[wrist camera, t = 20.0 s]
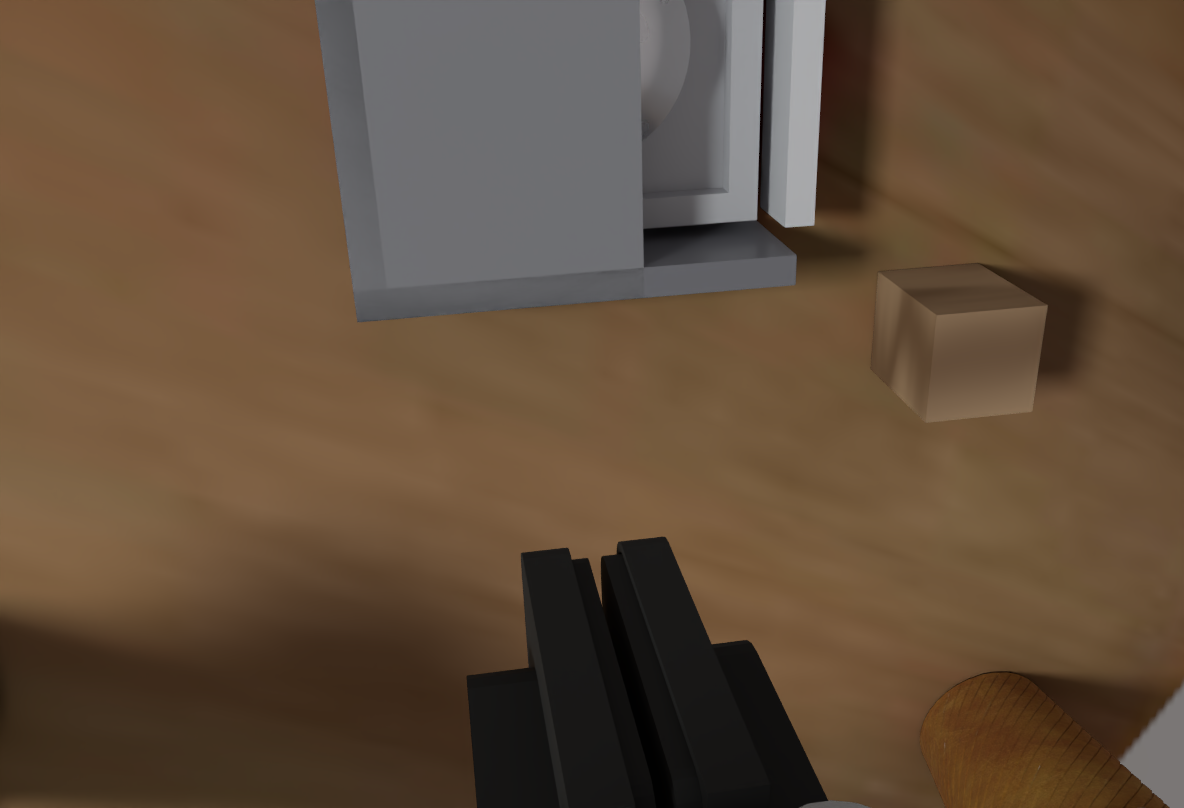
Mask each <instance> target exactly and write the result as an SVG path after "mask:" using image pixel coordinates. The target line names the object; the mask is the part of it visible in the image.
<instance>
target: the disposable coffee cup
mask: <svg viewBox="0 0 1184 808" xmlns="http://www.w3.org/2000/svg"><path fill="white" fill-rule="evenodd" d="M920 746H921V750H922V754H923V756H924V758H925V760H926V762H927V765H928V767H929V769H930V772H931V774H932V776H933V779H934V781H935V784H936V786H937V788H938V790H939V793H940V795H941V798H942V800H943V802H944V805H945V807H946V808H1169V807H1168V806H1167V805H1166V804H1164V803H1163V801H1162V800H1161V799H1160V798H1159V797H1157V796H1156V795H1155V794H1154V793H1152V790H1150V789H1149V788H1148V787H1147V786H1145V785H1144V784H1143V783H1141V780H1139V779H1138V778H1137V777H1136V776H1134V775H1133V774H1131V772H1130V771H1129V770H1128V769H1127V768H1126V767H1125V766H1123V765H1122V764H1120V761H1119V760H1117V759H1116V758H1115V757H1113V756H1112V755H1110V752H1108V751H1107V750H1106V749H1105V748H1104V747H1102V746H1101V744H1100V743H1099V742H1097V741H1096V740H1095V739H1094V738H1092V737H1091V736H1090V734H1089V733H1088V732H1086V731H1085V730H1084V729H1083V728H1082V727H1081V726H1080V725H1079V724H1077V723H1076V722H1075V721H1074V720H1072V718H1071V717H1070V716H1069V715H1068V714H1066V713H1065V712H1063V710H1062V709H1061V708H1060V707H1059V706H1058V705H1056V704H1055V702H1054V701H1052V700H1051V699H1050V698H1049V697H1048V696H1046V694H1045V693H1044V692H1043V691H1041V690H1040V689H1039V688H1038V687H1037V686H1036V685H1035V684H1034V683H1033V682H1032V681H1030V680H1029V679H1027V678H1025V677H1023V676H1020V675H1018V674H1013V673H1008V672H1003V673H988V674H982V675H979V676H977V677H974V678H971V679H968V680H966V681H964V682H962V683H960V684H958V685H956V686H955V687H953V688H952V689H951V690H949V691H948V692H946V693H945V694H944V695H943V696H942V697H941V698H940V699H939V700H938V701H937V702H936V703H935V704H934V706H933V707H932V708H931V709H930V711H929V713H928V714H927V716H926V718H925V720H924V722H923V725H922V729H921V732H920Z"/></svg>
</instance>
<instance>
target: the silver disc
mask: <svg viewBox="0 0 1184 808" xmlns="http://www.w3.org/2000/svg"><path fill="white" fill-rule="evenodd" d="M690 40H691V38H690V26H689V20H688V15H687V10H686V6H685V3H684V1H683V0H640V62H641V126H642V141H643V140H644V139H646V138H647V137H648V136H649V135H650V134H651V133H652V132H653V131H654V130H655V129H656V128H657V127H658V126H659V125H660V124H661V123H662V121H663V120H664V119H665V117H666V116H667V115H668V113H669V112H670V111H671V109H672V107H673V105H674V104H675V102H676V100H677V98H678V96H679V93H680V91H681V89H682V86H683V84H684V80H685V77H686V73H687V70H688V64H689V57H690Z"/></svg>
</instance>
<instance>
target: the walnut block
mask: <svg viewBox="0 0 1184 808" xmlns="http://www.w3.org/2000/svg"><path fill="white" fill-rule="evenodd" d="M1047 307H1048V305H1046V304H1045V303H1043V302H1041V301H1040V300H1038V299H1037V298H1035V297H1033V296H1032V295H1030V294H1028V293H1027V292H1025V291H1023V290H1022V289H1020V288H1018V287H1017V286H1015V285H1013V284H1012V283H1010V282H1008V281H1007V280H1005V279H1003V278H1002V277H1000V276H998V275H997V274H995V273H993V272H992V271H990V270H988V269H987V268H985V267H983V266H982V265H980V264H978V263H973V264H961V265H950V266H938V267H926V268H914V269H902V270H890V271H878V280H877V292H876V305H875V318H874V331H873V344H872V357H871V370H872V371H873V372H874V373H875V374H876V375H877V376H878V377H879V378H880V379H881V380H882V381H883V382H884V383H885V384H886V385H887V386H888V387H889V388H890V389H891V390H892V391H893V392H895V393H896V394H897V395H898V396H899V397H900V398H901V399H902V400H903V401H904V402H905V403H906V404H907V405H908V406H909V407H910V408H911V409H912V410H913V411H914V412H915V413H916V414H917V415H918V416H919V417H920V418H921V419H922V420H923V421H924V422H925V423H928V422H937V421H947V420H957V419H966V418H976V417H986V416H995V415H1005V414H1015V413H1024V412H1032V409H1033V402H1034V395H1035V389H1036V382H1037V375H1038V368H1039V362H1040V355H1041V348H1042V341H1043V335H1044V328H1045V321H1046V314H1047Z"/></svg>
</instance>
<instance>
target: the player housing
mask: <svg viewBox="0 0 1184 808" xmlns="http://www.w3.org/2000/svg"><path fill="white" fill-rule="evenodd" d="M315 5H316V13H317V21H318V28H319V36H320V43H321V51H322V58H323V66H324V73H325V81H326V88H327V96H328V103H329V111H330V118H331V126H332V134H333V141H334V149H335V156H336V164H337V171H338V179H339V186H340V194H341V201H342V209H343V216H344V224H345V232H346V239H347V247H348V254H349V262H350V269H351V277H352V284H353V292H354V299H355V307H356V314H357V322H366V321H378V320H390V319H401V318H413V317H425V316H437V315H448V314H460V313H472V312H484V311H495V310H507V309H519V308H531V307H542V306H554V305H566V304H578V303H589V302H601V301H613V300H624V299H636V298H648V297H660V296H671V295H683V294H695V293H707V292H718V291H730V290H742V289H754V288H765V287H777V286H789V285H795V282H796V260H797V255H796V254H795V253H794V252H792V251H791V250H790V249H789V248H788V247H787V246H785V245H784V244H783V243H782V242H781V241H780V240H779V239H777V238H776V237H775V236H774V235H773V234H772V233H770V232H769V231H768V230H767V229H766V228H765V227H763V226H762V225H761V224H760V223H759V222H758V221H757V220H749V221H736V222H723V223H710V224H697V225H684V226H671V227H658V228H645V229H643V190H642V126H641V62H640V0H315Z"/></svg>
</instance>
